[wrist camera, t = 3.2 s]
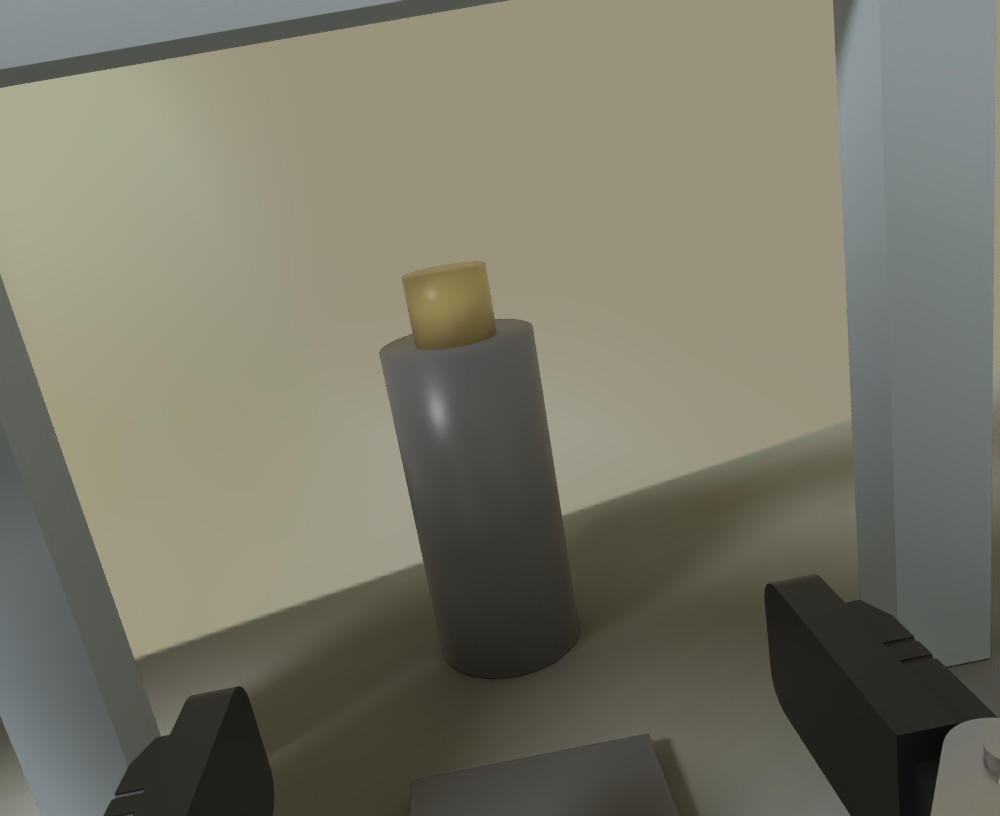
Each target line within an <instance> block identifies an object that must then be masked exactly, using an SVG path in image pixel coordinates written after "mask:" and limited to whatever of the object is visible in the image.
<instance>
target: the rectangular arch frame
mask: <svg viewBox="0 0 1000 816" xmlns="http://www.w3.org/2000/svg"><path fill="white" fill-rule="evenodd" d="M502 1H507V0H0V88H2V87H8V86H13V85H18V84H25V83H31V82H37V81H43V80H48V79H54V78H59V77H66V76H72V75H77V74H83V73H89V72H95V71H101V70H106V69H112V68H118V67H123V66H130V65H135V64H141V63H147V62H153V61H159V60H165V59H170V58H176V57H182V56H188V55H193V54H199V53H205V52H211V51H217V50H222V49H228V48H234V47H240V46H245V45H251V44H257V43H263V42H269V41H275V40H281V39H287V38H292V37H298V36H304V35H309V34H315V33H321V32H327V31H333V30H338V29H345V28H350V27H356V26H362V25H368V24H373V23H380V22H385V21H390V20H397V19H402V18H409V17H414V16H420V15H426V14H432V13H437V12H443V11H449V10H455V9H461V8H467V7H472V6H478V5H483V4H490V3H496V2H502ZM833 8H834V28H835V29H834V30H835V52H836V75H837V96H838V119H839V140H840V141H839V142H840V164H841V186H842V209H843V231H844V253H845V275H846V298H847V318H848V342H849V365H850V386H851V410H852V432H853V454H854V477H855V499H856V521H857V544H858V566H859V588H860V600H862V601H864V602H866V603H868V604H870V605H872V606H874V607H876V608H878V609H880V610H882V611H885V612H887V613H889V614H891V615H893V616H894V617H895V618H896V619H897V620H898V621H899V622H900V623H901V624H902V625H903V626H904V627H905V628H906V629H907V630H908V631H909V632H910V633H911V634H912V635H913V636H914V638H915V641H919V642H920V643H922V644H923V645H924V646H925V647H926V648H927V649H928V650H929V651H930V652H931V653H932V656H933V658H934V659H936V658H937V659H938V660H939V661H940V662H941V663H942V664H943V665H944V666H945V667H947V666H953V665H958V664H963V663H968V662H973V661H978V660H983V659H988V658H990V644H991V526H992V408H993V288H994V287H993V286H994V280H993V279H994V277H993V276H994V172H995V171H994V169H995V167H994V166H995V165H994V164H995V53H996V50H995V49H996V48H995V47H996V0H833ZM0 717H1V719H2V722H3V724H4V727H5V729H6V731H7V734H8V736H9V739H10V741H11V744H12V746H13V748H14V751H15V753H16V756H17V758H18V760H19V763H20V765H21V768H22V770H23V772H24V775H25V777H26V780H27V782H28V785H29V787H30V789H31V792H32V794H33V797H34V799H35V801H36V804H37V806H38V809H39V811H40V814H41V816H103V815H104V813H105V811H106V809H107V808H108V806H109V804H110V802H111V800H112V799H115V792H116V790H117V788H118V786H119V784H120V782H121V780H122V778H123V776H124V774H125V772H126V770H127V768H128V766H129V765H130V764H131V763H132V762H133V761H134V760H135V759H136V758H137V757H138V756H139V755H140V753H141V752H142V751H143V750H144V749H145V748H146V747H147V746H148V745H149V744H150V743H151V742H152V741H153V740H154V739H155V738H157V737H161V735H160V732H159V729H158V726H157V723H156V720H155V717H154V715H153V712H152V709H151V706H150V703H149V700H148V697H147V694H146V692H145V689H144V686H143V683H142V680H141V677H140V674H139V671H138V669H137V666H136V663H135V660H134V657H133V654H132V652H131V649H130V646H129V643H128V640H127V637H126V634H125V631H124V629H123V626H122V623H121V620H120V617H119V614H118V611H117V609H116V606H115V603H114V600H113V597H112V594H111V592H110V588H109V585H108V583H107V580H106V577H105V574H104V571H103V568H102V565H101V562H100V560H99V557H98V554H97V551H96V548H95V545H94V542H93V540H92V537H91V534H90V531H89V528H88V525H87V522H86V520H85V517H84V514H83V511H82V508H81V505H80V502H79V499H78V497H77V494H76V491H75V488H74V485H73V482H72V479H71V477H70V474H69V471H68V468H67V465H66V462H65V459H64V456H63V453H62V451H61V448H60V445H59V442H58V439H57V436H56V433H55V431H54V428H53V425H52V422H51V419H50V417H49V413H48V410H47V407H46V405H45V402H44V399H43V396H42V393H41V391H40V388H39V385H38V382H37V379H36V376H35V373H34V370H33V367H32V364H31V362H30V359H29V356H28V353H27V350H26V347H25V344H24V342H23V339H22V336H21V333H20V330H19V327H18V324H17V322H16V319H15V316H14V313H13V310H12V307H11V304H10V302H9V298H8V296H7V293H6V290H5V287H4V284H3V281H2V278H1V276H0Z"/></svg>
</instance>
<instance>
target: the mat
mask: <svg viewBox="0 0 1000 816" xmlns="http://www.w3.org/2000/svg"><path fill="white" fill-rule="evenodd" d="M410 816H680V815H679V812H678V810H677V807H676V804H675V802H674V799H673V797H672V794H671V791H670V789H669V786H668V784H667V781H666V778H665V776H664V773H663V770H662V768H661V765H660V763H659V760H658V757H657V755H656V752H655V750H654V747H653V744H652V742H651V739H650V736H649V734H643V735H638V736H633V737H628V738H623V739H618V740H613V741H608V742H603V743H598V744H593V745H588V746H583V747H578V748H573V749H568V750H563V751H558V752H553V753H548V754H543V755H538V756H533V757H528V758H523V759H517V760H512V761H507V762H502V763H497V764H492V765H487V766H482V767H477V768H472V769H467V770H462V771H457V772H452V773H447V774H442V775H437V776H432V777H427V778H422V779H417V780H412V781H411V795H410Z"/></svg>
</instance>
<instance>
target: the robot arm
mask: <svg viewBox="0 0 1000 816" xmlns="http://www.w3.org/2000/svg"><path fill="white" fill-rule="evenodd" d="M765 609H766V620H767V631H768V643H769V654H770V665H771V674H772V679H773V684H774V687H775V691H776V694H777V697H778V700H779V702H780V705H781V707H782V709H783V711H784V713H785V714H786V716H787V718H788V719H789V721H790V722H791V724H792V725H793V727H794V729H795V730H796V732H797V733H798V735H799V736H800V738H801V739H802V741H803V742H804V744H805V746H806V747H807V749H808V750H809V752H810V753H811V755H812V756H813V758H814V760H815V761H816V763H817V764H818V766H819V767H820V769H821V770H822V772H823V773H824V775H825V777H826V778H827V780H828V781H829V783H830V784H831V786H832V787H833V789H834V790H835V792H836V794H837V795H838V797H839V798H840V800H841V801H842V803H843V804H844V806H845V807H846V809H847V811H848V812H849V814H850V815H851V816H1000V718H998V717H997V716H996V715H995V714H994V713H993V712H992V711H991V710H989V709H988V708H987V707H986V706H985V705H984V704H983V703H982V702H981V701H980V700H979V699H978V698H977V697H976V696H975V695H974V694H973V693H972V692H971V691H970V690H969V689H968V688H967V687H966V686H965V685H964V684H963V683H962V682H961V681H960V680H959V679H958V678H957V677H955V676H954V675H953V674H952V673H951V672H950V671H949V670H948V669H947V668H946V667H945V666H944V665H943V664H942V663H941V662H940V661H939V660H938V659H937V658H936V659H934V658H933V656H932V653H931V652H930V651H929V650H928V649H927V648H926V647H925V646H924V645H923V644H922V643H920V642H919V641H915V638H914V636H913V635H912V634H911V633H910V632H909V631H908V630H907V629H906V628H905V627H904V626H903V625H902V624H901V623H900V622H899V621H898V620H897V619H896V618H895V617H894V616H893V615H891V614H889V613H887V612H885V611H882V610H880V609H878V608H876V607H874V606H872V605H870V604H868V603H866V602H864V601H862V600H857V601H852V602H847V603H844V602H843V601H842V599H841V598H840V597H839V596H838V595H837V594H836V593H835V592H834V591H833V590H832V589H831V588H830V587H829V586H828V585H827V584H826V583H825V582H824V581H823V579H822V578H820V577H819V576H818V575H809V576H804V577H799V578H794V579H789V580H784V581H779V582H774V583H769V584H767V585H766V587H765ZM273 809H274V786H273V778H272V773H271V769H270V765H269V762H268V759H267V756H266V752H265V749H264V746H263V743H262V739H261V736H260V733H259V730H258V726H257V723H256V720H255V717H254V713H253V710H252V707H251V704H250V701H249V698H248V695H247V693H246V691H245V690H244V689H243V688H242V687H240V686H238V687H233V688H228V689H223V690H218V691H213V692H208V693H203V694H197V695H192V696H190V697H189V698H188V699H187V700H186V702H185V704H184V706H183V708H182V710H181V712H180V715H179V717H178V719H177V721H176V723H175V725H174V727H173V730H172V732H171V734H170V735H167V736H162V737H157V738H155V739H154V740H153V741H152V742H151V743H150V744H149V745H148V746H147V747H146V748H145V749H144V750H143V751H142V752H141V753H140V755H139V756H138V757H137V758H136V759H135V760H134V761H133V762H132V763H131V764H130V765H129V766H128V768H127V770H126V772H125V774H124V776H123V778H122V780H121V782H120V784H119V786H118V788H117V790H116V792H115V799H112V800H111V802H110V804H109V806H108V808H107V809H106V811H105V813H104V815H103V816H272V815H273Z"/></svg>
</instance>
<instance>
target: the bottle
mask: <svg viewBox="0 0 1000 816" xmlns="http://www.w3.org/2000/svg"><path fill="white" fill-rule="evenodd" d="M402 282H403V287H404V292H405V297H406V301H407V307H408V312H409V317H410V322H411V326H412V332H413V334H411V335H408V336H405V337H402V338H400V339H397V340H395V341H393V342H391V343H389V344H387V345H386V346H384V347H383V348H382V349H381V350H380V352H379V353H380V359H381V364H382V368H383V373H384V378H385V382H386V387H387V392H388V396H389V401H390V406H391V411H392V415H393V420H394V425H395V430H396V435H397V439H398V444H399V448H400V453H401V458H402V462H403V467H404V472H405V477H406V482H407V486H408V490H409V496H410V500H411V505H412V510H413V514H414V519H415V524H416V529H417V533H418V538H419V543H420V548H421V552H422V557H423V562H424V566H425V571H426V576H427V581H428V585H429V590H430V595H431V599H432V604H433V609H434V613H435V618H436V623H437V628H438V632H439V637H440V642H441V646H442V651H443V654H444V657H445V659H446V660H447V662H448V663H449V664H450V665H451V666H452V667H454V668H455V669H457V670H459V671H461V672H463V673H465V674H468V675H472V676H476V677H483V678H508V677H515V676H520V675H524V674H528V673H531V672H534V671H537V670H540V669H542V668H544V667H546V666H548V665H550V664H552V663H554V662H555V661H557V660H558V659H560V658H561V657H562V656H564V655H565V654H566V653H567V652H568V651H569V650H570V649H571V647H572V646H573V645H574V643H575V641H576V639H577V637H578V633H579V625H578V619H577V612H576V605H575V599H574V592H573V586H572V579H571V573H570V566H569V560H568V553H567V547H566V540H565V534H564V527H563V521H562V514H561V509H560V501H559V495H558V489H557V482H556V475H555V469H554V462H553V456H552V449H551V443H550V436H549V430H548V424H547V417H546V411H545V404H544V397H543V391H542V384H541V378H540V371H539V365H538V358H537V352H536V346H535V340H534V332H533V326H532V324H531V323H529V322H526V321H523V320H516V319H495V318H494V312H493V306H492V300H491V294H490V288H489V282H488V277H487V271H486V265H485V262H481V261H473V262H460V263H453V264H446V265H441V266H435V267H431V268H426V269H422V270H418V271H414V272H411V273H408V274H406V275H404V276H402Z"/></svg>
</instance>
